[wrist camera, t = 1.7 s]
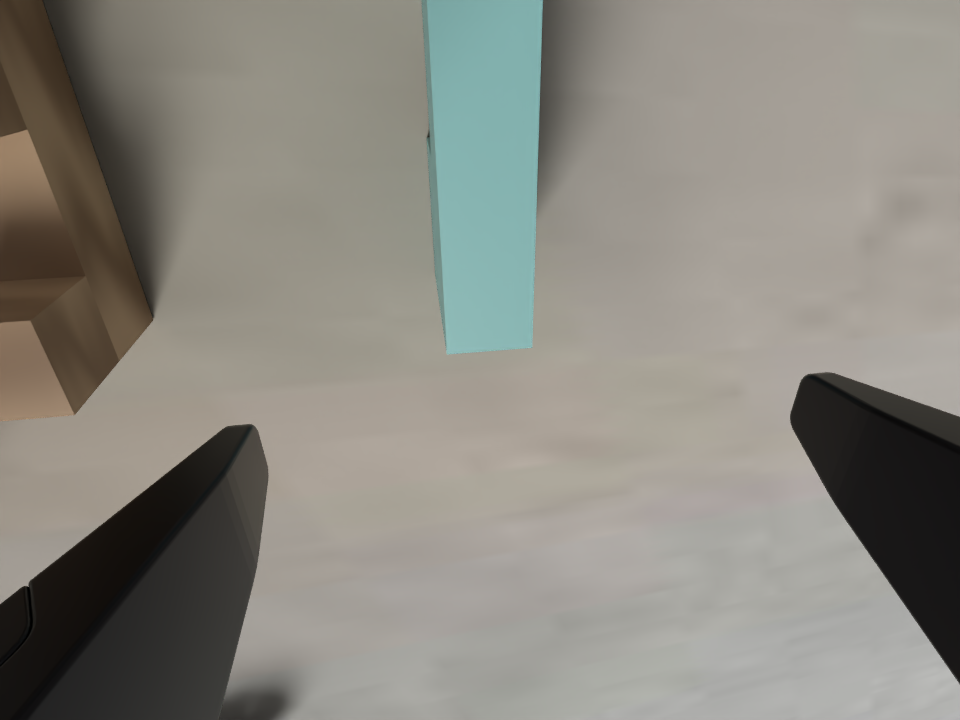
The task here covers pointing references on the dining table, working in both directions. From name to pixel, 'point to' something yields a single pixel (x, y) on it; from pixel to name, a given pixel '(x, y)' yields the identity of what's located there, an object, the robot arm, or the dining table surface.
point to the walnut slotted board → (55, 235)
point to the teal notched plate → (484, 166)
